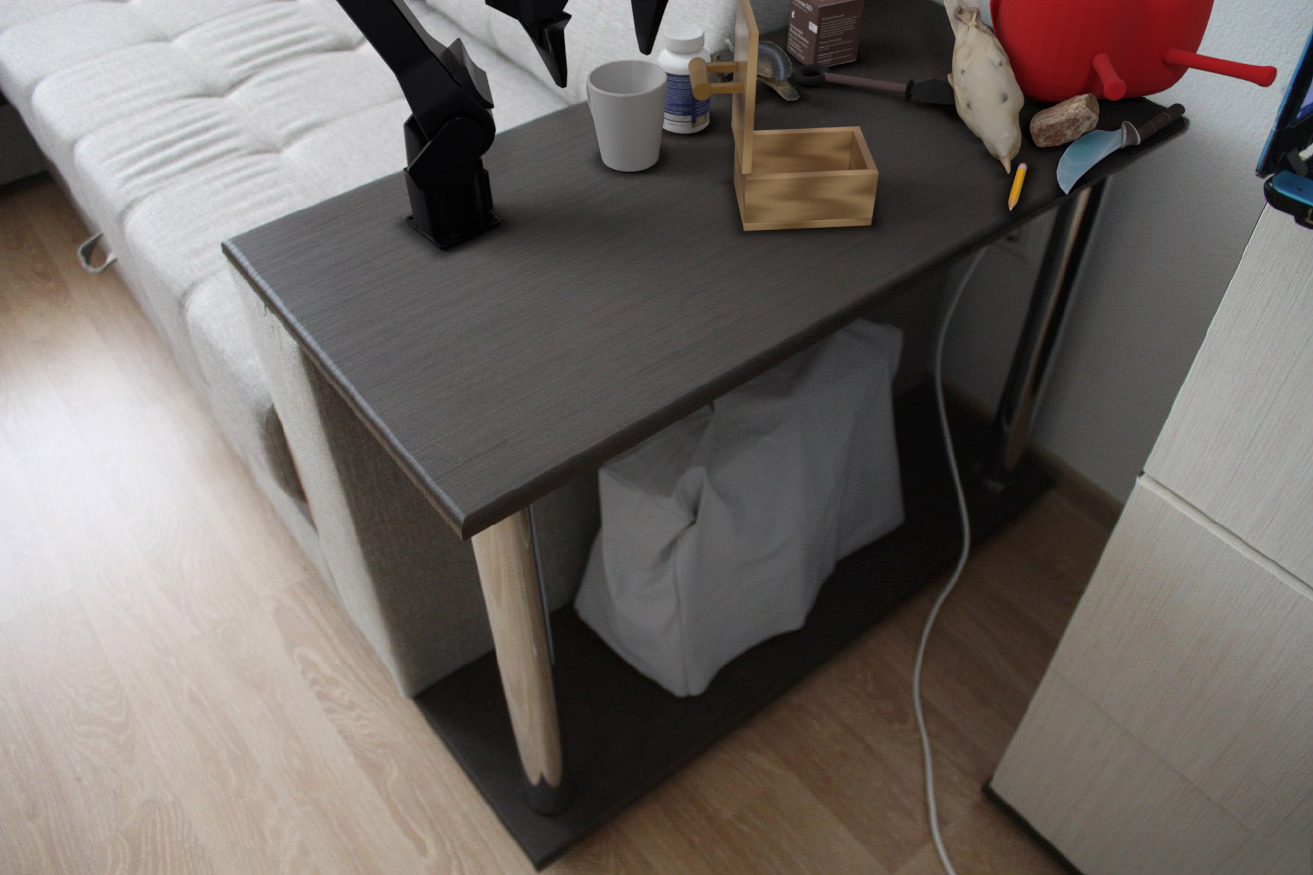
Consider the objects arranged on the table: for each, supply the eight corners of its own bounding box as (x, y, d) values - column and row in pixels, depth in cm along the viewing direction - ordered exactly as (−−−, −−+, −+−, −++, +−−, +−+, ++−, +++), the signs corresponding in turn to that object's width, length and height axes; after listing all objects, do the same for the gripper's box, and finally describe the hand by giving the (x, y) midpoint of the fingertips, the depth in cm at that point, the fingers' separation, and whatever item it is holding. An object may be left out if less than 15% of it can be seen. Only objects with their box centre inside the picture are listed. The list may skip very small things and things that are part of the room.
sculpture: (910, -27, 106) (931, -5, 110) (968, 181, 99) (989, 197, 103) (966, -62, 102) (986, -38, 106) (1031, 151, 95) (1050, 169, 99)
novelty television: (1130, -69, 114) (1324, 3, 91) (1100, 50, 122) (1271, 144, 99) (957, -59, 111) (1113, 19, 88) (938, 62, 119) (1076, 163, 95)
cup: (624, 186, 98) (620, 103, 93) (563, 148, 104) (555, 67, 98) (684, 160, 102) (684, 78, 96) (621, 124, 108) (618, 44, 102)
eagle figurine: (708, 102, 108) (793, 94, 106) (705, 31, 107) (791, 21, 104) (724, 111, 115) (804, 104, 113) (721, 45, 114) (802, 36, 112)
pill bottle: (705, 137, 105) (706, 44, 98) (653, 133, 106) (652, 40, 99) (713, 113, 109) (715, 21, 102) (664, 109, 110) (663, 18, 103)
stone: (1068, 142, 107) (1036, 107, 107) (1116, 104, 103) (1081, 67, 102) (1054, 168, 102) (1019, 132, 102) (1102, 129, 98) (1066, 91, 98)
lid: (746, -11, 86) (686, -8, 86) (759, 32, 80) (695, 34, 80) (739, 126, 95) (686, 129, 95) (751, 174, 89) (693, 176, 89)
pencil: (1017, 167, 100) (1023, 171, 100) (1004, 211, 94) (1010, 215, 94) (1022, 161, 99) (1028, 164, 99) (1009, 205, 93) (1016, 209, 93)
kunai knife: (1032, 135, 102) (1036, 105, 99) (787, 93, 115) (786, 65, 112) (1047, 115, 104) (1051, 85, 102) (805, 76, 117) (804, 48, 115)
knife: (1023, 183, 99) (1069, 204, 96) (1027, 168, 97) (1074, 189, 95) (1138, 101, 108) (1183, 118, 106) (1143, 87, 107) (1188, 104, 105)
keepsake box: (853, 177, 99) (859, 126, 95) (871, 225, 93) (879, 173, 89) (733, 182, 99) (735, 131, 95) (743, 231, 93) (746, 179, 89)
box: (785, 51, 120) (789, -13, 114) (829, 41, 121) (836, -23, 116) (812, 72, 116) (818, 6, 111) (857, 61, 117) (866, -4, 112)
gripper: (559, -77, 68) (576, 140, 79) (758, -136, 76) (749, 67, 87) (465, -114, 74) (493, 92, 85) (659, -165, 83) (662, 28, 93)
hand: (604, 69), depth 87 cm, fingers open, 9 cm apart
